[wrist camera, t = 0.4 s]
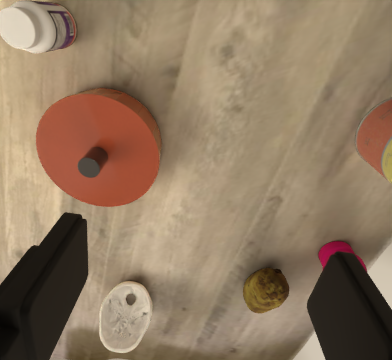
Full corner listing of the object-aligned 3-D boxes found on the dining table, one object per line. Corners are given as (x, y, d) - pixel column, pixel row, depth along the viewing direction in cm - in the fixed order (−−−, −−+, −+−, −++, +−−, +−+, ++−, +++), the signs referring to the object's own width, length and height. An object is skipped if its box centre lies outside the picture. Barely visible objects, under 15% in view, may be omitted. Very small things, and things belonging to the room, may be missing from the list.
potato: (226, 287, 62) (229, 321, 55) (262, 249, 57) (269, 282, 50) (258, 301, 64) (264, 335, 57) (295, 265, 58) (307, 299, 51)
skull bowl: (103, 324, 68) (88, 353, 55) (117, 265, 68) (105, 281, 56) (147, 332, 68) (141, 363, 56) (160, 274, 69) (157, 291, 57)
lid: (35, 78, 37) (13, 86, 33) (169, 107, 38) (164, 118, 34) (43, 191, 46) (26, 209, 41) (151, 211, 47) (146, 231, 43)
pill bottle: (31, 30, 39) (-18, 33, 30) (46, -7, 37) (-2, -16, 28) (67, 57, 40) (30, 66, 32) (84, 22, 38) (50, 23, 30)
